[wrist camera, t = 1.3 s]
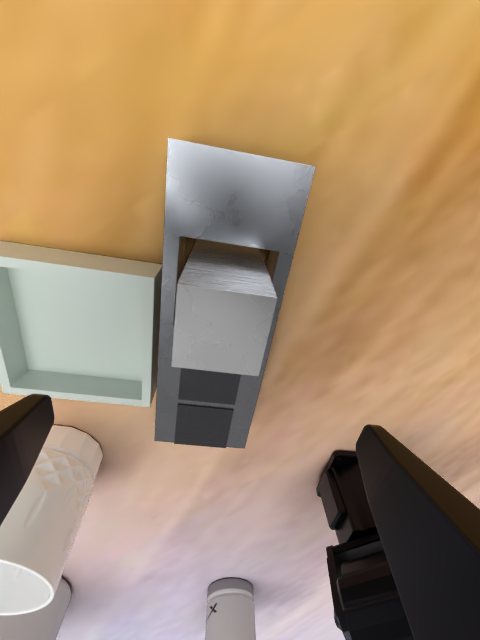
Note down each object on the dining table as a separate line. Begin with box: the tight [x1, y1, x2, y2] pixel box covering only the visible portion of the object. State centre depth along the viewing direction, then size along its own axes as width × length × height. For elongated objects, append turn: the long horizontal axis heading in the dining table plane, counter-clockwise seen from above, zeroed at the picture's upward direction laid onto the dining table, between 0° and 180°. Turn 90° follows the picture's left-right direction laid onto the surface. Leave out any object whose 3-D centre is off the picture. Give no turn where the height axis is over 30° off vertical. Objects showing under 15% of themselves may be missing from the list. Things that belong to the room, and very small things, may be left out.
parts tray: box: [0, 241, 163, 407], centre depth 20 cm, size 10×10×3 cm
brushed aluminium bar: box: [171, 239, 277, 376], centre depth 16 cm, size 4×4×8 cm
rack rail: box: [155, 138, 316, 448], centre depth 20 cm, size 7×20×3 cm, turn 171°
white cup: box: [0, 425, 103, 615], centre depth 23 cm, size 8×8×10 cm
